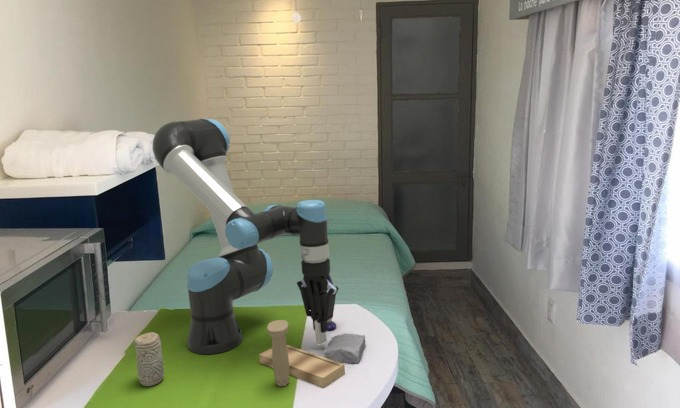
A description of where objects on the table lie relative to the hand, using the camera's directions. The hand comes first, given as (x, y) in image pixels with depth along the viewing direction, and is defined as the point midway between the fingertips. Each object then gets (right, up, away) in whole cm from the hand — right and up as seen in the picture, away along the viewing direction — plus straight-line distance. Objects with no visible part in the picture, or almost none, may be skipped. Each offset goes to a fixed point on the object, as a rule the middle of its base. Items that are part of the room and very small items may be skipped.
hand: (321, 342), depth 152 cm
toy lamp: (+2, +1, +13) cm, 13 cm away
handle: (-9, -6, -17) cm, 20 cm away
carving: (-42, -7, -13) cm, 44 cm away
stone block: (+6, -3, -3) cm, 8 cm away
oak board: (-5, -4, -10) cm, 12 cm away
